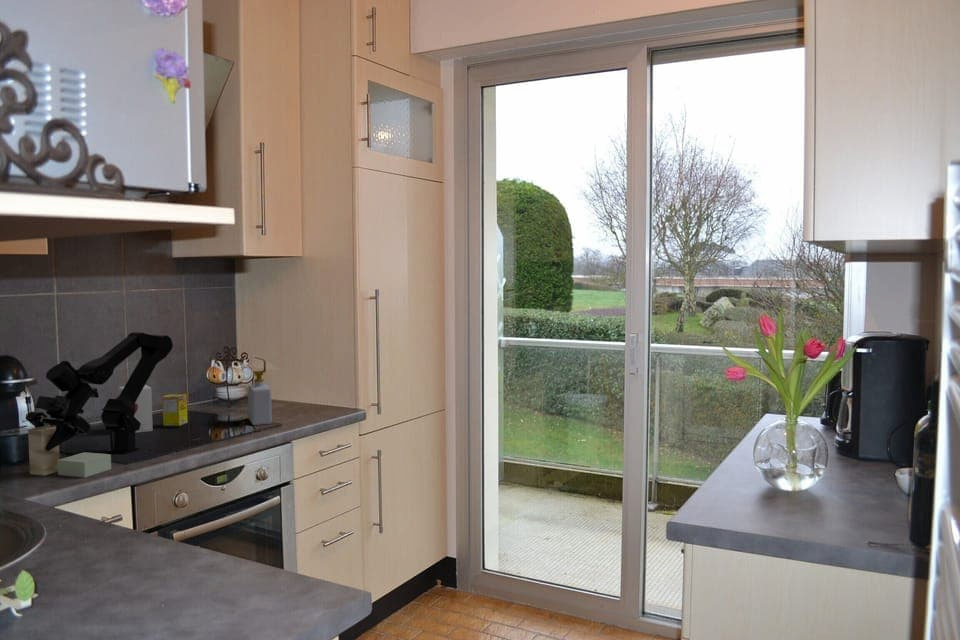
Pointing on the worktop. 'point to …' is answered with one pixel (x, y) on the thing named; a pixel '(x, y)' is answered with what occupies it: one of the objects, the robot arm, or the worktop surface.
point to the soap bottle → (259, 400)
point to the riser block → (84, 464)
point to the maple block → (42, 451)
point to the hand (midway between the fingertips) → (39, 449)
